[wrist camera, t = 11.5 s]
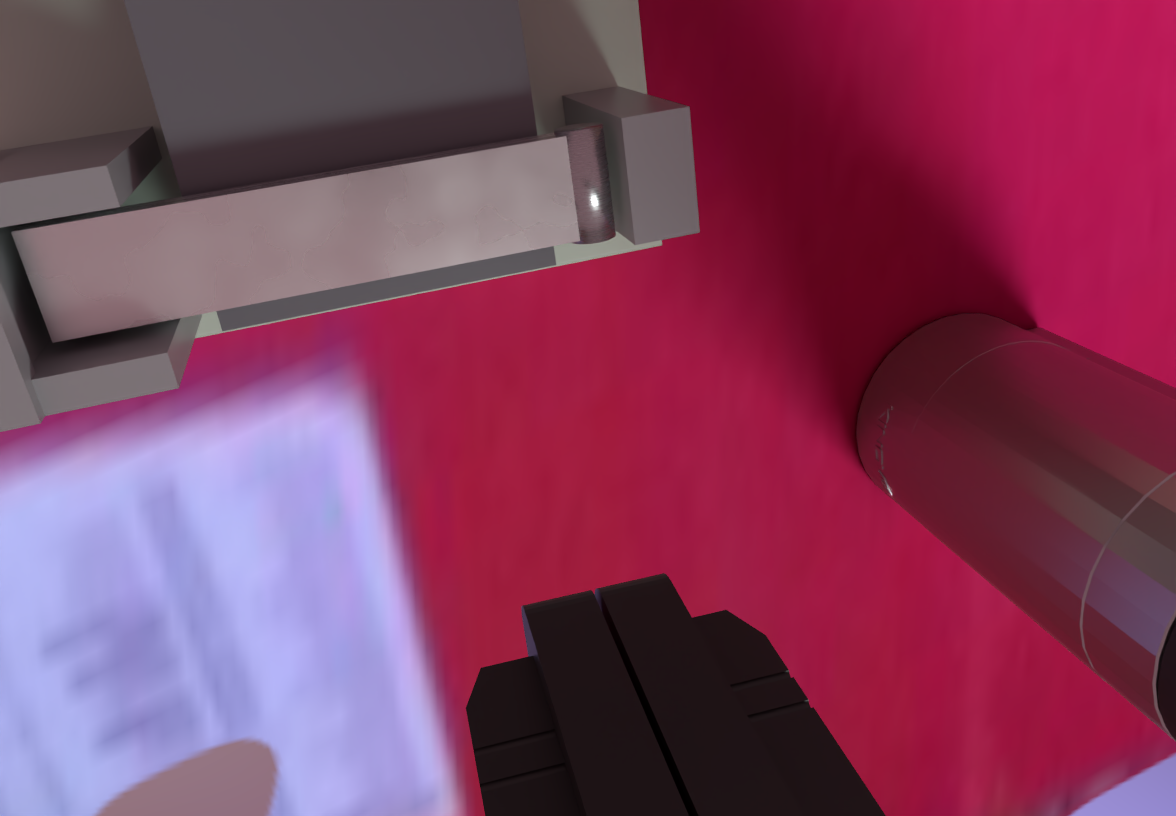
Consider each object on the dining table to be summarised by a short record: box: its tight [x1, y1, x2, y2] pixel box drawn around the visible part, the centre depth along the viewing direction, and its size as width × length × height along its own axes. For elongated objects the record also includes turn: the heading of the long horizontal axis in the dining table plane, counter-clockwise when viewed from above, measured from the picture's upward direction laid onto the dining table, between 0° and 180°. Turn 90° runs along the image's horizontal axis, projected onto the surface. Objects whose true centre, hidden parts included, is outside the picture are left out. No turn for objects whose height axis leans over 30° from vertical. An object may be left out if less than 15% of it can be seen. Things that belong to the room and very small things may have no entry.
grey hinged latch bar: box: [11, 122, 616, 343], centre depth 28 cm, size 16×3×2 cm, turn 97°
